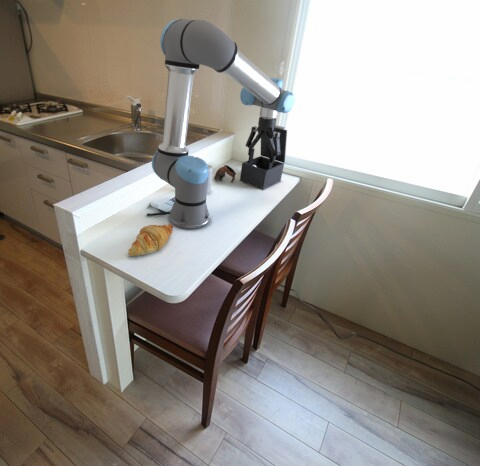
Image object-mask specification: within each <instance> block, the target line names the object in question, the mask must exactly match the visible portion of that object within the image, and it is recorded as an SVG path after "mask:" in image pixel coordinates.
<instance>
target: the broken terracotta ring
mask: <svg viewBox="0 0 480 466" xmlns="http://www.w3.org/2000/svg"><path fill="white" fill-rule="evenodd" d="M226 175H228V176H229V177H231V178H232V179H231V181H230V182H231V183H233V182H234V181H235V179H236V175H237V172H236V170H235V169H233V168H232V167H230V165H227V164H224V165H223V166H221V167H219V168H218V169H217V170H216V172H215V174H214V177H213V178H214V181H215V182H217V181H218V182H222V181H223V180H224V178H225V176H226Z"/></svg>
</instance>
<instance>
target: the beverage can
mask: <svg viewBox="0 0 480 466" xmlns="http://www.w3.org/2000/svg"><path fill="white" fill-rule="evenodd" d="M207 165H208V173H209V177H208V185H207V194H209V193H211V192H212V181H213V173H214V169H213V166H212V165H211V164H208V163H207Z"/></svg>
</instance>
